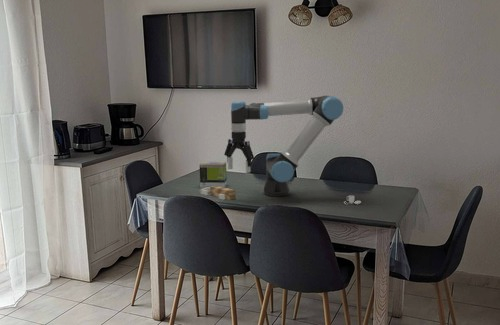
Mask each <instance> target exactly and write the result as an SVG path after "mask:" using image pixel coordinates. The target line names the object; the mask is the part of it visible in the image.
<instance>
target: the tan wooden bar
mask: <svg viewBox="0 0 500 325" xmlns="http://www.w3.org/2000/svg"><path fill="white" fill-rule="evenodd" d="M209 193H210V196H213V197H217V198H219V194H224V195H225V200H228V201H230V200H235V199H236V190H235V189H232V188H228V187H225V188H224V187H220V186H212V187H210V192H209Z"/></svg>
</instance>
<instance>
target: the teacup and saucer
mask: <svg viewBox="0 0 500 325" xmlns="http://www.w3.org/2000/svg"><path fill="white" fill-rule="evenodd" d="M346 201H349V202H348V204H357V205H359V204H362V201H361V200H355V195H348V196H346V200H345V201H343V203H344V204H345V205H347V204H346V203H347V202H346ZM354 201H355V202H354ZM345 202H346V203H345Z"/></svg>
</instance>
